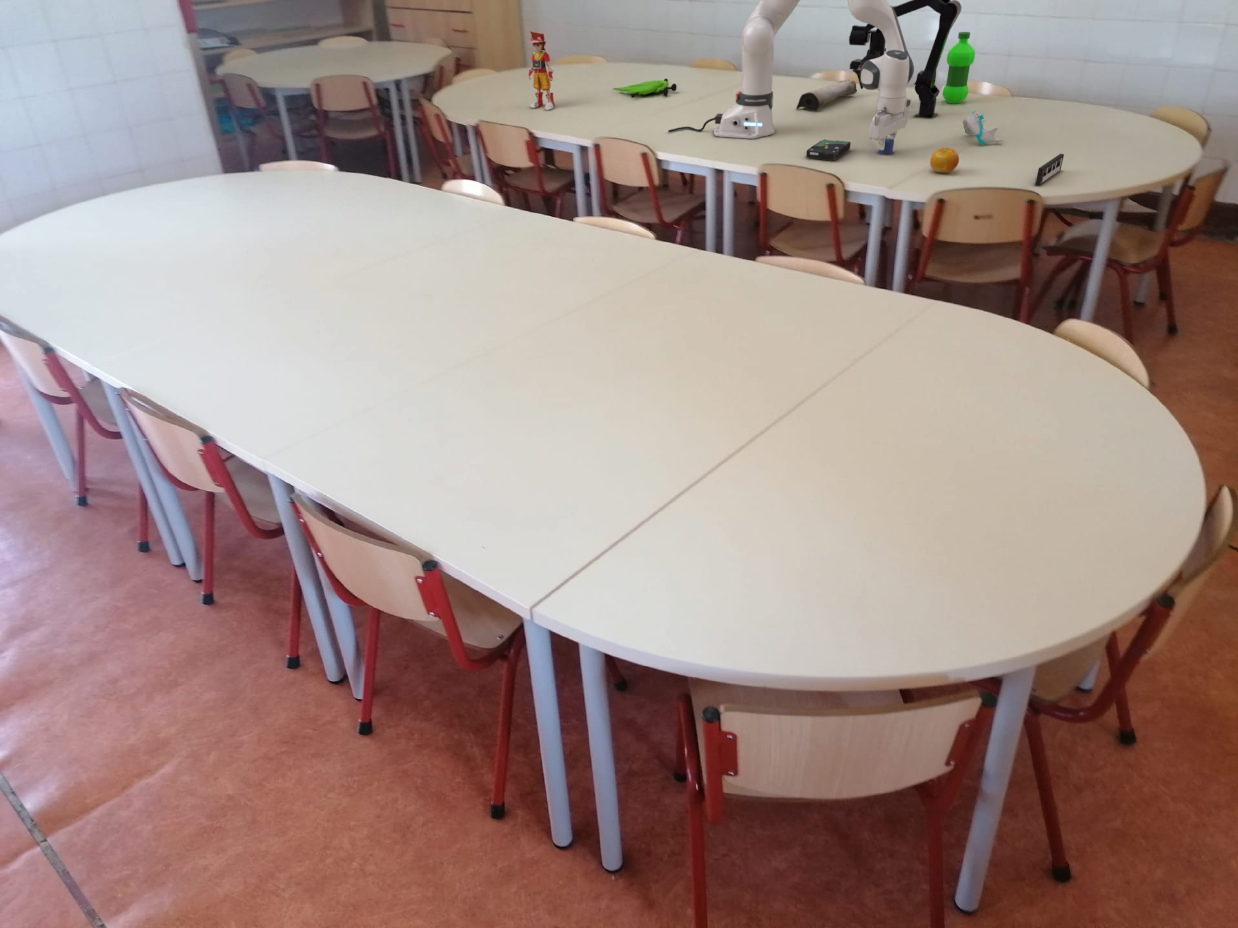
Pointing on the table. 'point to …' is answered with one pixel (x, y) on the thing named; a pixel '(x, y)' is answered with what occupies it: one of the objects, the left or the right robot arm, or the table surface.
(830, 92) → the rolled mat
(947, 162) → the fruit
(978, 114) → the anatomical model
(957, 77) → the plastic bottle
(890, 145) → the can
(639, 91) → the toy
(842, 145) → the disk drive
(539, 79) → the toy
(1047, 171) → the midi keyboard
